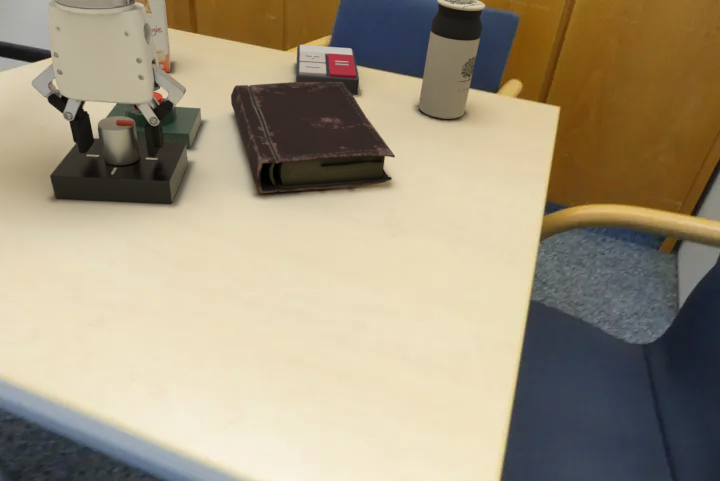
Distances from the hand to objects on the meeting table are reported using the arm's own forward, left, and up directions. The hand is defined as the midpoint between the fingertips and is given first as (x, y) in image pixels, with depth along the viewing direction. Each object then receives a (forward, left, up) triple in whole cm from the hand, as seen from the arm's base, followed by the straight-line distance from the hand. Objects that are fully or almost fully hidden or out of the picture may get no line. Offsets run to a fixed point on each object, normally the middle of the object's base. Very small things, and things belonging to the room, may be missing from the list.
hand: (121, 149), depth 66 cm
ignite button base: (0, +14, -4) cm, 15 cm away
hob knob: (0, 0, -1) cm, 1 cm away
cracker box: (-10, +40, -4) cm, 41 cm away
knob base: (0, 0, -4) cm, 4 cm away
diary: (+22, +12, -4) cm, 25 cm away
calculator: (+25, +41, -4) cm, 48 cm away
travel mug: (+45, +29, -4) cm, 54 cm away
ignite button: (0, +14, -1) cm, 14 cm away
